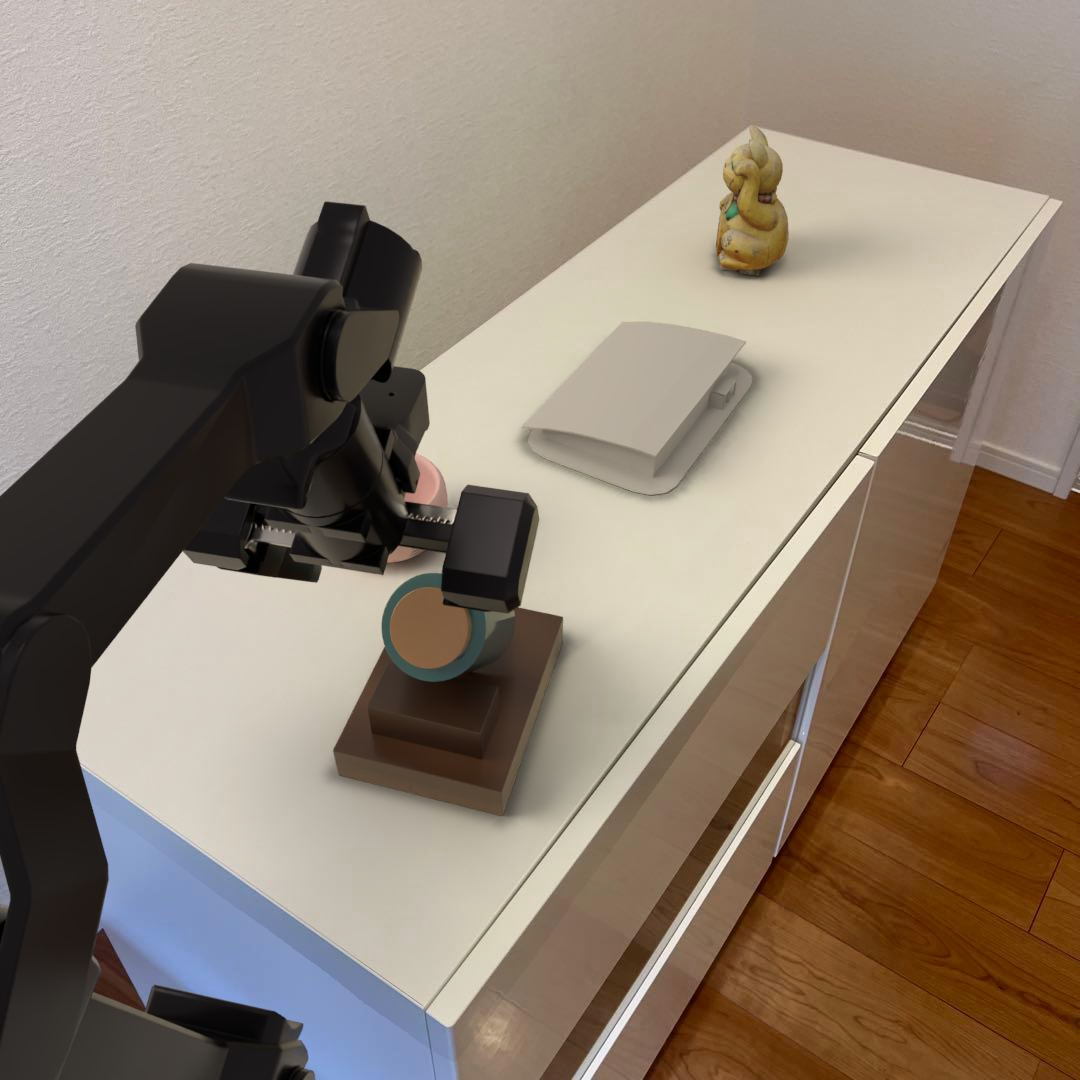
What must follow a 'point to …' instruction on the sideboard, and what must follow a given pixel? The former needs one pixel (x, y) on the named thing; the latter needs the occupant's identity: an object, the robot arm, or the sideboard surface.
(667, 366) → the grey flat folded piece
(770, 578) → the sideboard surface
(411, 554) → the mug
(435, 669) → the jar
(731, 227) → the decorative figurine
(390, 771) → the stand
